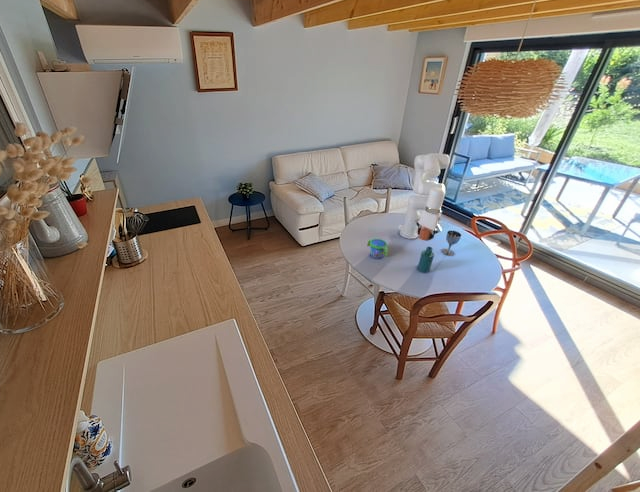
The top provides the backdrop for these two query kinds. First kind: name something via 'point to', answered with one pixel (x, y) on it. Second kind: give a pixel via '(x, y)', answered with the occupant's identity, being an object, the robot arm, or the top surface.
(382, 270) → the top surface
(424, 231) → the cup
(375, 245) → the snack cup
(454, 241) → the wine glass
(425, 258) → the bottle
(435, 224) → the robot arm
